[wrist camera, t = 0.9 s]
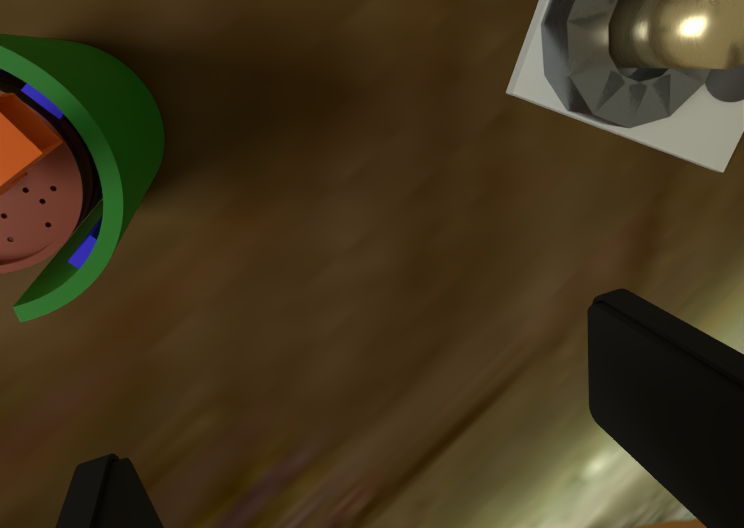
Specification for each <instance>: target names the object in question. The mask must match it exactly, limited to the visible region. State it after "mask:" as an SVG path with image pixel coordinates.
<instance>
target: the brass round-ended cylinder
mask: <svg viewBox="0 0 744 528" xmlns="http://www.w3.org/2000/svg"><path fill="white" fill-rule="evenodd" d="M608 50H609V55H610V57H611V59H612V60H613V62H614V64H615V66H616V68H662V69H733V68H737V67H739V66H741V65H743V64H744V0H618V1H617V4H616V6H615V9H614V11H613V14H612V16H611V19H610V21H609V24H608Z"/></svg>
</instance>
